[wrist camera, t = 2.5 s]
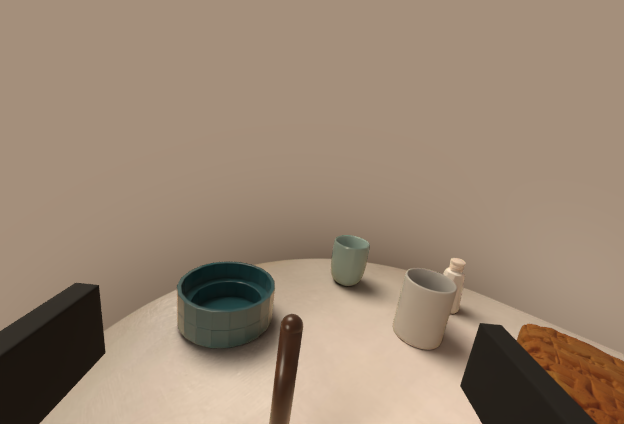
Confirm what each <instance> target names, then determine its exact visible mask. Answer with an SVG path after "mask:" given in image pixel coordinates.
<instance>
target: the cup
mask: <svg viewBox="0 0 624 424" xmlns="http://www.w3.org/2000/svg"><path fill="white" fill-rule="evenodd" d="M369 248H370V245H369V243H368V242H367V241H366V240H364V239H362V238H359V237H355V236H350V235H342V236H338V237H337V238H336V239H335V241H334V246H333V253H332V260H331V274H332V277H333V278H334V280H335V281H336V282H338V283H339V284H341V285H345V286H352V285H355V284H357V283H358V282H359V281H360V280H361V278H362V276H363V274H364V271H365V267H366V263H367V259H368V254H369Z"/></svg>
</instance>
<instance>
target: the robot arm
mask: <svg viewBox="0 0 624 424" xmlns="http://www.w3.org/2000/svg"><path fill="white" fill-rule="evenodd" d="M104 354H105V343H104V333H103V323H102V312H101V302H100V293H99V285H92V284H82V283H75V284H73V285H72V286H70V287H68V288H67V289H65V290H64V291H62V292H61V293H59V294H57V295H56V296H54V297H53V298H51V299H50V300H48V301H47V302H45V303H43V304H42V305H40V306H39V307H37V308H36V309H34V310H33V311H31V312H30V313H28V314H26V315H25V316H23V317H22V318H20V319H18V320H17V321H15V322H14V323H12V324H11V325H9V326H8V327H6V328H4V329H3V330H2V331H0V424H39V423H40V422H41V421H42V420H43V419H44V418H45V417H46V416H47V415H48V414H49V413H50V412H51V411H52V410H53V408H54V407H55V406H56V405H57V404H58V403H59V402H60V401H61V400H62V399H63V398H64V397H65V396H66V395H67V393H68V392H69V391H70V390H71V389H72V388H73V387H74V386H75V385H76V384H77V383H78V382H79V381H80V380H81V378H82V377H83V376H84V375H85V374H86V373H87V372H88V371H89V370H90V369H91V368H92V367H93V366H94V365H95V363H96V362H97V361H98V360H99V359H100V358H101V357H102V356H103V355H104ZM460 386H461V388H462V390H463V391H464V393H465V395H466V397H467V398H468V400H469V402H470V403H471V405H472V407H473V409H474V410H475V412H476V414H477V415H478V417H479V419H480V421H481V422H482V424H597V423H596V422H595V421H594V420H593V419H592V418H591V417H590V416H589V415H588V414H587V413H586V412H585V411H584V410H583V409H582V407H581V406H580V405H579V404H578V403H577V402H576V401H575V400H574V399H573V398H572V397H571V396H570V395H569V394H568V393H567V392H566V391H565V390H564V389H563V388H562V387H561V386H560V385H559V384H558V383H557V382H556V381H555V380H554V379H553V378H552V377H551V376H550V375H549V374H548V373H547V372H546V371H545V370H544V368H543V367H542V366H541V365H540V364H539V363H538V362H537V361H536V360H535V359H534V358H533V357H532V356H531V355H530V354H529V353H528V352H527V351H526V350H525V349H524V348H523V347H522V346H521V345H520V344H519V343H518V342H517V341H516V340H515V339H514V338H513V337H512V336H511V335H510V334H509V333H508V332H507V331H506V329H505V328H504V327H503V326H502V325H494V324H484V323H480V325H479V328H478V331H477V334H476V337H475V341H474V344H473V347H472V350H471V353H470V356H469V360H468V363H467V366H466V369H465V372H464V375H463V379H462V382H461V385H460Z"/></svg>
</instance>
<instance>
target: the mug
mask: <svg viewBox="0 0 624 424" xmlns="http://www.w3.org/2000/svg"><path fill="white" fill-rule="evenodd" d="M456 292H457V286H456V284H455V283H454V282H453V281H452V280H451V279H450V278H448V277H446V276H445V275H443V274H440V273H438V272H435V271H432V270H428V269H423V268H412V269H409V270H408V271H407V272H406V274H405V278H404V282H403V286H402V290H401V294H400V298H399V302H398V306H397V310H396V314H395V317H394V321H393V329H394V331H395V333H396V335H397V336H398V337H399V338H400V339H401V340H403V341H404V342H406V343H407V344H409V345H411V346H413V347H416V348H419V349H425V350H431V349H435V348H437V347H438V346H439V345H440V344H441V342H442V339H443V335H444V331H445V328H446V324H447V321H448V318H449V315H450V312H451V308H452V305H453V302H454V299H455V295H456Z"/></svg>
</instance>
